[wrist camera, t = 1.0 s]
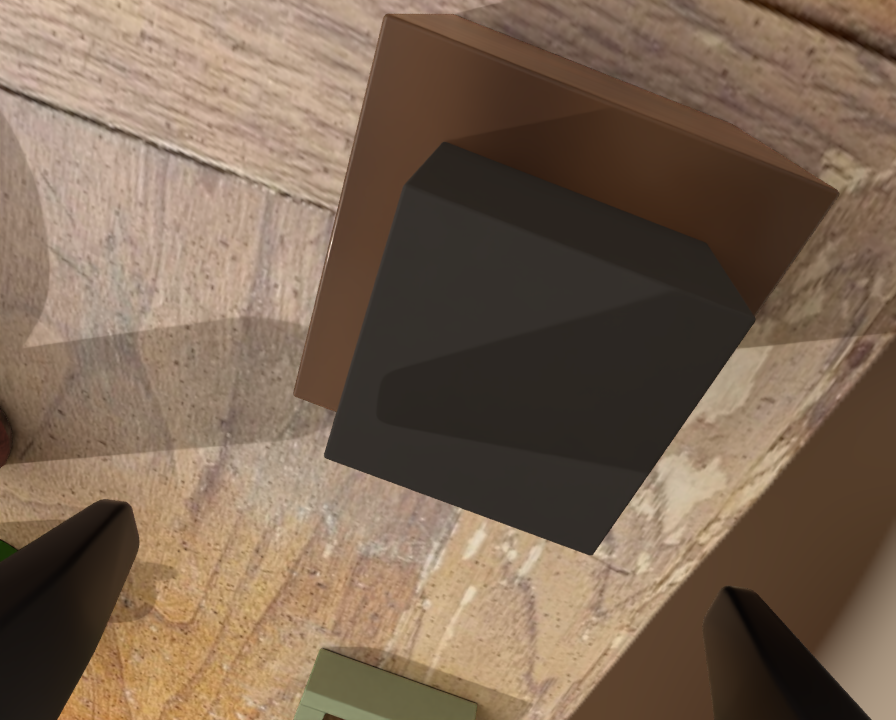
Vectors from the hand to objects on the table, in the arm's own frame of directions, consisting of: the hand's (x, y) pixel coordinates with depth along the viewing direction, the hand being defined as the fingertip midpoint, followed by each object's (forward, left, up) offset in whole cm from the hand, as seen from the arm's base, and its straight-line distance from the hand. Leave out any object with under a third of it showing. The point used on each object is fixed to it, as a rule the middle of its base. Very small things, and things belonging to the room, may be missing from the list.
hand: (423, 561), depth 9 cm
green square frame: (+13, +28, -14) cm, 33 cm away
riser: (-1, -1, -14) cm, 14 cm away
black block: (-1, -1, -6) cm, 6 cm away
